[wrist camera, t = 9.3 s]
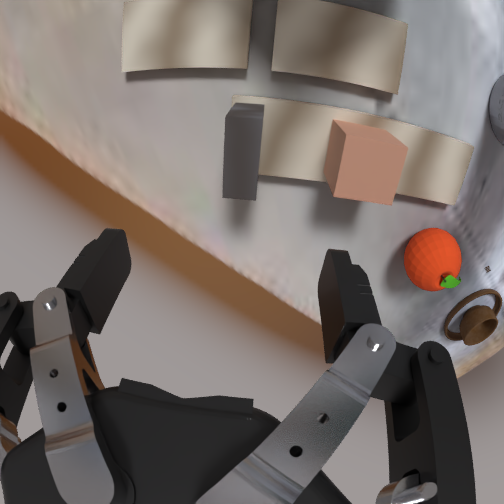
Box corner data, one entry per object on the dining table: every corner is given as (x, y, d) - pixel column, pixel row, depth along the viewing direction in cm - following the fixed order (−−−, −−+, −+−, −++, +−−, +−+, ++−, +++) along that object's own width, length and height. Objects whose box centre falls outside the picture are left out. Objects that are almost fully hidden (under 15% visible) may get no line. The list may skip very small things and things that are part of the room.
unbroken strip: (469, 143, 23) (508, 171, 17) (450, 201, 27) (481, 237, 22) (233, 95, 23) (221, 108, 17) (229, 168, 27) (218, 203, 22)
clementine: (460, 231, 30) (487, 269, 24) (429, 272, 34) (449, 312, 28) (417, 206, 28) (445, 246, 23) (385, 253, 32) (403, 297, 27)
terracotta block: (386, 130, 23) (408, 147, 19) (373, 179, 26) (391, 205, 22) (332, 119, 23) (346, 134, 19) (323, 171, 26) (333, 196, 22)
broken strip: (403, 24, 17) (407, 24, 16) (393, 93, 22) (397, 94, 21) (128, 3, 17) (123, 2, 16) (126, 71, 22) (121, 72, 21)
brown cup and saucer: (425, 307, 39) (438, 338, 34) (523, 230, 29) (544, 255, 24) (455, 345, 45) (465, 370, 41) (533, 286, 35) (547, 309, 31)
